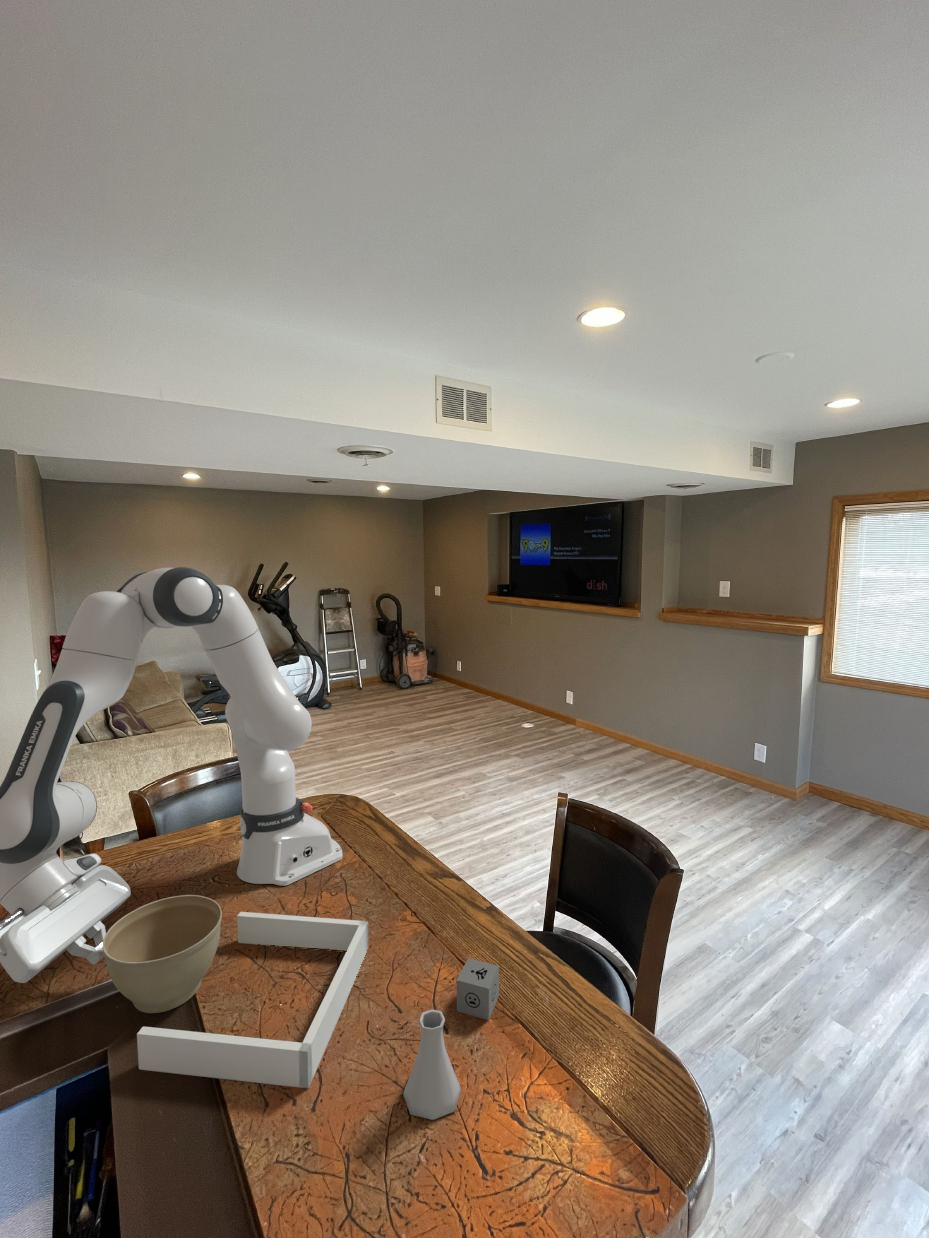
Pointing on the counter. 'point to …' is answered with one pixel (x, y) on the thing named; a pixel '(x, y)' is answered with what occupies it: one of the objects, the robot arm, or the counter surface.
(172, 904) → the planter bowl
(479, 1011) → the dice cube
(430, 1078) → the flask
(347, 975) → the box
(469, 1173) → the counter surface
